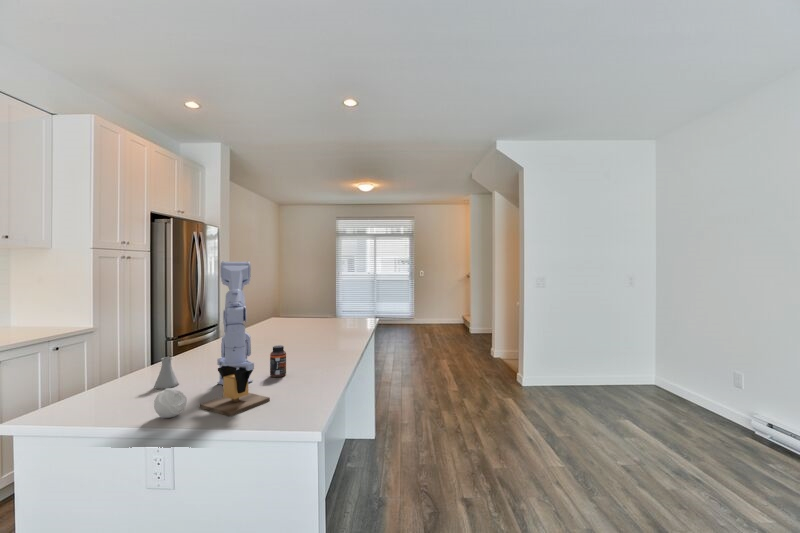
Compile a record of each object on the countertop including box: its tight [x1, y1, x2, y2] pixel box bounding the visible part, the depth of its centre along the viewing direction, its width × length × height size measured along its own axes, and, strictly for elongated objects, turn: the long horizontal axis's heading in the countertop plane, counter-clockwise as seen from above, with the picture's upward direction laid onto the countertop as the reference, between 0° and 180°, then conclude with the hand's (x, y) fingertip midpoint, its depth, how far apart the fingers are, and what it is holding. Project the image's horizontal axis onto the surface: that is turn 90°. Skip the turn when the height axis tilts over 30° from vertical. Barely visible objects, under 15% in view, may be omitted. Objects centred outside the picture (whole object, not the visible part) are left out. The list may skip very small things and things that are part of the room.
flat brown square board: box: [199, 392, 271, 417], centre depth 114 cm, size 14×14×4 cm
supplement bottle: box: [269, 344, 287, 378], centre depth 144 cm, size 6×6×11 cm
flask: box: [153, 356, 180, 390], centre depth 132 cm, size 7×7×10 cm
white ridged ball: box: [153, 387, 188, 419], centre depth 105 cm, size 8×8×8 cm
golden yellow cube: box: [222, 374, 249, 399], centre depth 114 cm, size 5×5×6 cm
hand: (235, 390), depth 114 cm, fingers closed on golden yellow cube, 5 cm apart
